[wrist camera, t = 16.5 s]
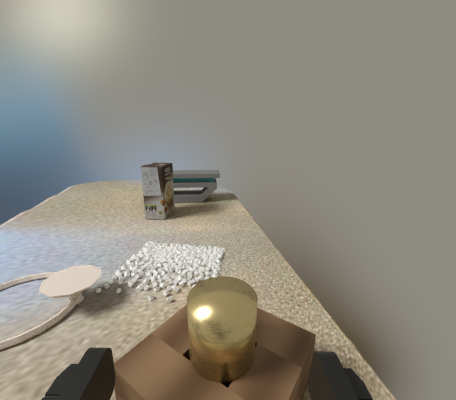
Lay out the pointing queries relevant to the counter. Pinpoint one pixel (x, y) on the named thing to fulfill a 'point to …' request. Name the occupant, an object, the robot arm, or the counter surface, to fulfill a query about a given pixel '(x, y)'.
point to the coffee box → (158, 190)
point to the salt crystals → (172, 257)
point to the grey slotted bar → (194, 185)
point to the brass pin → (222, 328)
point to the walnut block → (208, 390)
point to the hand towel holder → (56, 294)
